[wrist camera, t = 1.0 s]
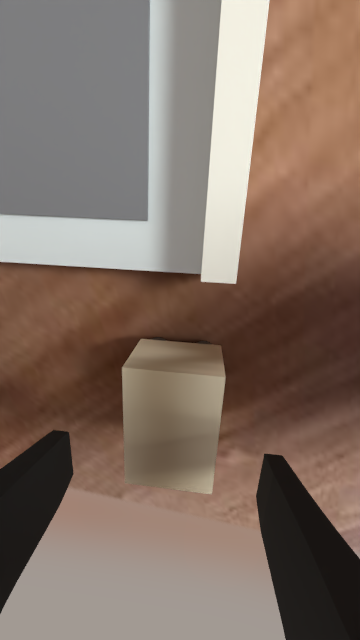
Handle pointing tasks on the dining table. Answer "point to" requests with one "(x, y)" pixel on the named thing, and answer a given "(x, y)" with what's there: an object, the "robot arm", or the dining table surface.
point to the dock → (128, 132)
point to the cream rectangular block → (172, 414)
